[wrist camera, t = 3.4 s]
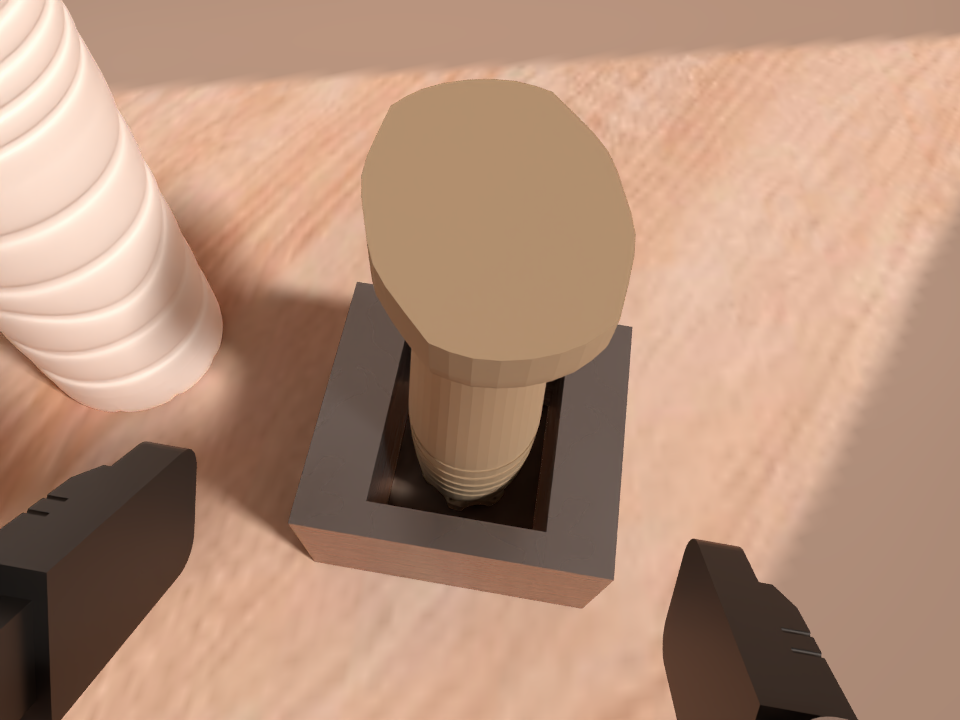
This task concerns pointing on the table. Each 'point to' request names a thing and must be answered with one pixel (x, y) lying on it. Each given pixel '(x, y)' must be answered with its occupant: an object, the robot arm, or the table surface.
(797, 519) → the table surface
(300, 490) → the socket block
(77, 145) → the water bottle
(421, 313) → the handle
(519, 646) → the table surface
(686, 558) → the robot arm
